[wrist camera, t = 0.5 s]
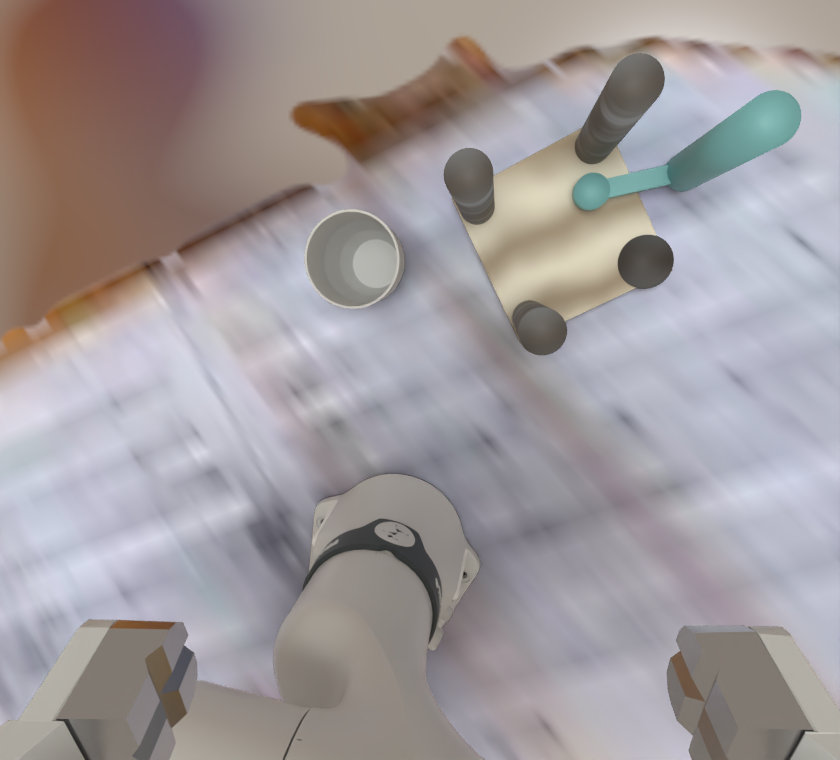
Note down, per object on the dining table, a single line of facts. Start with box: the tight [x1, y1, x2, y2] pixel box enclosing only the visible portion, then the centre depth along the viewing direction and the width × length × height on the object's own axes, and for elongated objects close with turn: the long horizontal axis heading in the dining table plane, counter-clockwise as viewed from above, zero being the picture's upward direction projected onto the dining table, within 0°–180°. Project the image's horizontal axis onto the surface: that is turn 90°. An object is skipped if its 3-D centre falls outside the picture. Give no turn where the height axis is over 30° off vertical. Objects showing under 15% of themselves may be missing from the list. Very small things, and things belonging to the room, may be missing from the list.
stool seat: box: [444, 53, 674, 355], centre depth 44 cm, size 16×16×18 cm
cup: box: [304, 209, 405, 309], centre depth 51 cm, size 8×8×10 cm
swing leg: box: [572, 90, 801, 211], centre depth 41 cm, size 11×3×16 cm, turn 101°
